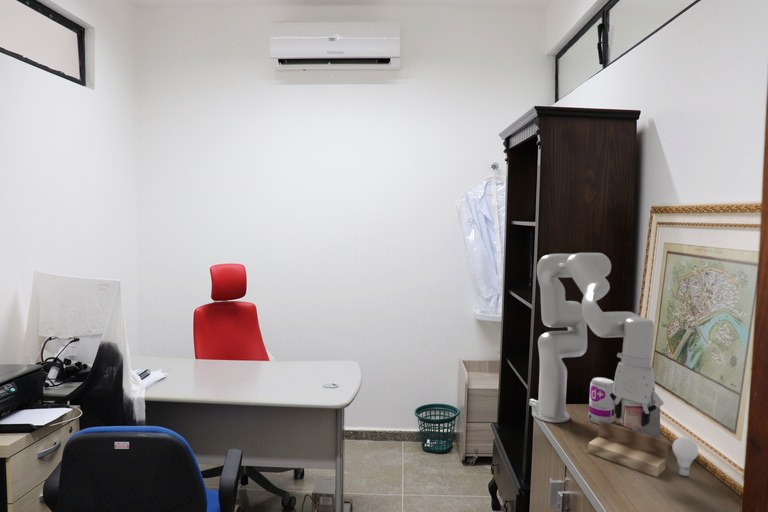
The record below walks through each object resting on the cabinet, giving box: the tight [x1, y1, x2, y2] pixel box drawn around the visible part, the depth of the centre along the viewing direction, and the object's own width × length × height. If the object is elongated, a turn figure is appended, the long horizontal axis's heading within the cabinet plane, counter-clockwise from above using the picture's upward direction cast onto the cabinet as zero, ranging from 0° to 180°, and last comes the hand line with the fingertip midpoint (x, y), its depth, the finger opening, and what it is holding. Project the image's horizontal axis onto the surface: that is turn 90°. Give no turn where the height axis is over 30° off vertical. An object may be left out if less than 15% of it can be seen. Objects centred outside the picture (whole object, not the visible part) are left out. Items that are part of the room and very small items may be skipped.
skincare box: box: [632, 400, 661, 438], centre depth 167 cm, size 8×7×16 cm
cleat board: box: [587, 420, 670, 478], centre depth 154 cm, size 20×8×8 cm, turn 44°
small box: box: [619, 399, 644, 429], centre depth 147 cm, size 5×4×8 cm
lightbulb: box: [671, 436, 699, 477], centre depth 145 cm, size 6×6×11 cm
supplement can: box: [588, 376, 615, 425], centre depth 183 cm, size 8×8×15 cm
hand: (631, 420), depth 147 cm, fingers closed on small box, 6 cm apart
